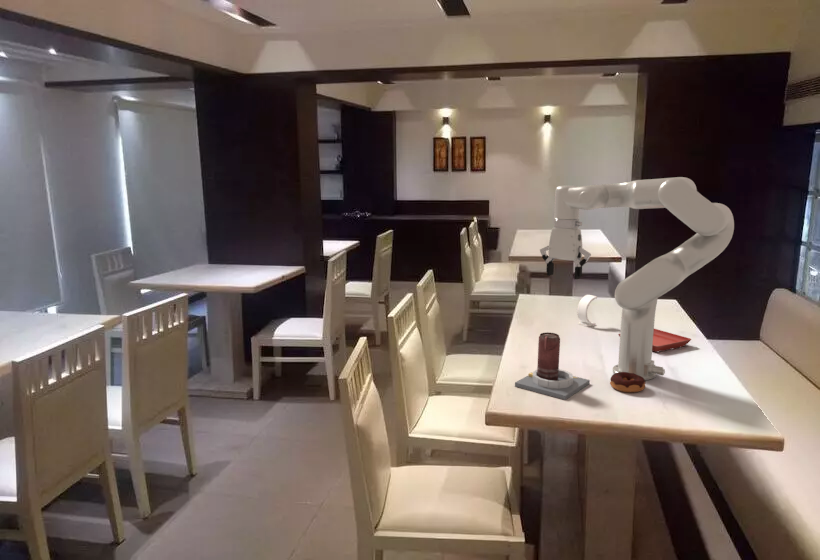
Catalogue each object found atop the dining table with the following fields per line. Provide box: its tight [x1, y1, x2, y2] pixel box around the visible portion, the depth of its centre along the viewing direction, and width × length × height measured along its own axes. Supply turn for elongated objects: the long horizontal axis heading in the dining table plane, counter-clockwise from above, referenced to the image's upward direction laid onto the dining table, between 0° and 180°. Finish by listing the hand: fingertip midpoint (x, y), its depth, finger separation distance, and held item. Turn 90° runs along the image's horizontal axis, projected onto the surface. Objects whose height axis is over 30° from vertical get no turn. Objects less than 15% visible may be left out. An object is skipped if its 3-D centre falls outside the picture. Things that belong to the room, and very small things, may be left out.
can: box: [536, 332, 561, 381], centre depth 174 cm, size 6×6×14 cm
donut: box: [609, 372, 646, 393], centre depth 172 cm, size 10×10×4 cm
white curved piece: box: [576, 294, 598, 328], centre depth 239 cm, size 5×6×12 cm
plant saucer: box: [617, 328, 692, 353], centre depth 214 cm, size 18×18×3 cm
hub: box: [514, 368, 591, 401], centre depth 174 cm, size 16×16×3 cm
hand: (563, 276), depth 192 cm, fingers open, 9 cm apart
